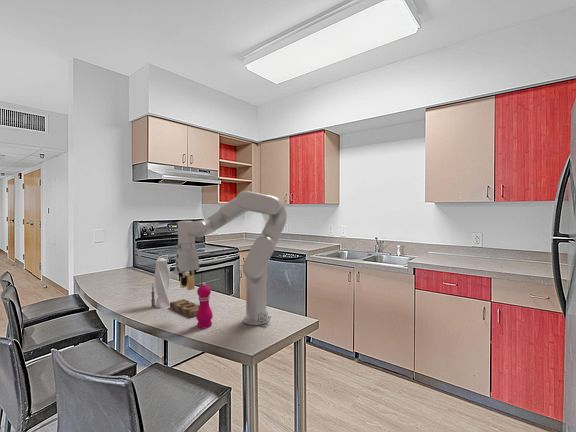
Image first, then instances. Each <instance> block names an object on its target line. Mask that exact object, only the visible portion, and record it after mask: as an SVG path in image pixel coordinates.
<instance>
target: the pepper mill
mask: <svg viewBox="0 0 576 432" xmlns="http://www.w3.org/2000/svg"><path fill="white" fill-rule="evenodd" d="M196 293H197V295H198V301H199V304H198V305H199V309H198V312H197V315H196V317H195V319H196V320H197V328H199V329H208V328H211V326H212V325H213V323H212V322H213V321H212V319H213V311H212V309H211V307H210V299H211V298H210V297H211V296H210V295H211V293H212V289H211V287H210V286H208V285H207V283H206V282H202V283H201V285H200V286H199V287H198V288H197V291H196Z"/></svg>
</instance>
